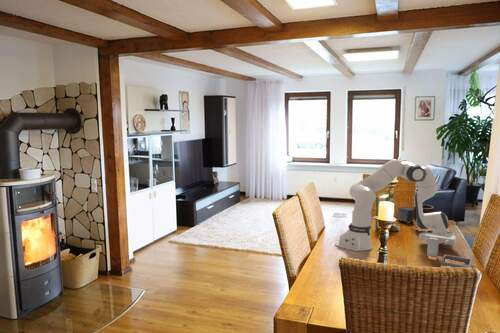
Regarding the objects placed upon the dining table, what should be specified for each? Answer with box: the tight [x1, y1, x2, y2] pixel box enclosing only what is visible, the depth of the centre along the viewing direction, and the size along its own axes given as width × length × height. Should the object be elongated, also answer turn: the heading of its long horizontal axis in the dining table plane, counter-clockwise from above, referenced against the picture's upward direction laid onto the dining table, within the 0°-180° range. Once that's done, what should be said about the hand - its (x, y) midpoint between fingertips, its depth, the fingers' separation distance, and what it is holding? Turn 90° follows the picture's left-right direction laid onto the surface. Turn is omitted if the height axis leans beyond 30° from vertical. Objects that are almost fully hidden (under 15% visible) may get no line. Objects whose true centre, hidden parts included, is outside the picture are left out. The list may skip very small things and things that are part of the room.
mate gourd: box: [412, 204, 435, 224], centre depth 282 cm, size 16×14×20 cm
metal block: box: [426, 236, 439, 258], centre depth 224 cm, size 5×5×12 cm
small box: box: [397, 206, 414, 223], centre depth 306 cm, size 11×6×10 cm, turn 22°
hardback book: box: [374, 192, 394, 230], centre depth 290 cm, size 18×7×24 cm, turn 146°
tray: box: [440, 254, 474, 268], centre depth 212 cm, size 14×14×4 cm
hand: (435, 241), depth 233 cm, fingers open, 8 cm apart
